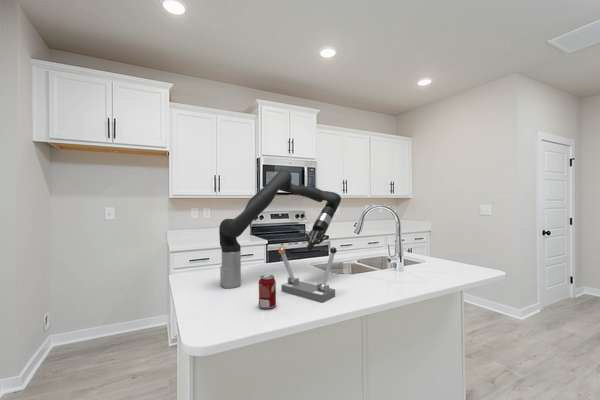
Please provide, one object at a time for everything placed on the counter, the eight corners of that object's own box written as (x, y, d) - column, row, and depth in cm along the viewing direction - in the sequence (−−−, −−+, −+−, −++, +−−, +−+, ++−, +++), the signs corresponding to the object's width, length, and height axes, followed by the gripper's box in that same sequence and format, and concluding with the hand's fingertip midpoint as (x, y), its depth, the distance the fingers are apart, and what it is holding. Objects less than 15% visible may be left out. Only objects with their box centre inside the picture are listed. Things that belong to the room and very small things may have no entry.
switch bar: (295, 286, 138) (295, 274, 138) (335, 296, 124) (335, 283, 124) (281, 291, 131) (281, 279, 130) (322, 302, 116) (322, 288, 116)
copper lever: (293, 279, 135) (280, 245, 128) (298, 280, 133) (285, 246, 126) (289, 284, 133) (276, 249, 126) (294, 285, 131) (281, 250, 124)
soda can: (268, 311, 108) (268, 279, 108) (255, 307, 111) (255, 277, 111) (279, 305, 113) (279, 275, 113) (266, 302, 117) (265, 273, 117)
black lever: (321, 290, 123) (333, 248, 131) (326, 291, 121) (338, 249, 129) (317, 288, 121) (329, 245, 129) (323, 289, 119) (335, 246, 127)
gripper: (335, 228, 149) (322, 255, 139) (315, 227, 157) (301, 252, 147) (329, 219, 144) (316, 246, 135) (309, 218, 153) (295, 243, 143)
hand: (308, 249), depth 141 cm, fingers closed
